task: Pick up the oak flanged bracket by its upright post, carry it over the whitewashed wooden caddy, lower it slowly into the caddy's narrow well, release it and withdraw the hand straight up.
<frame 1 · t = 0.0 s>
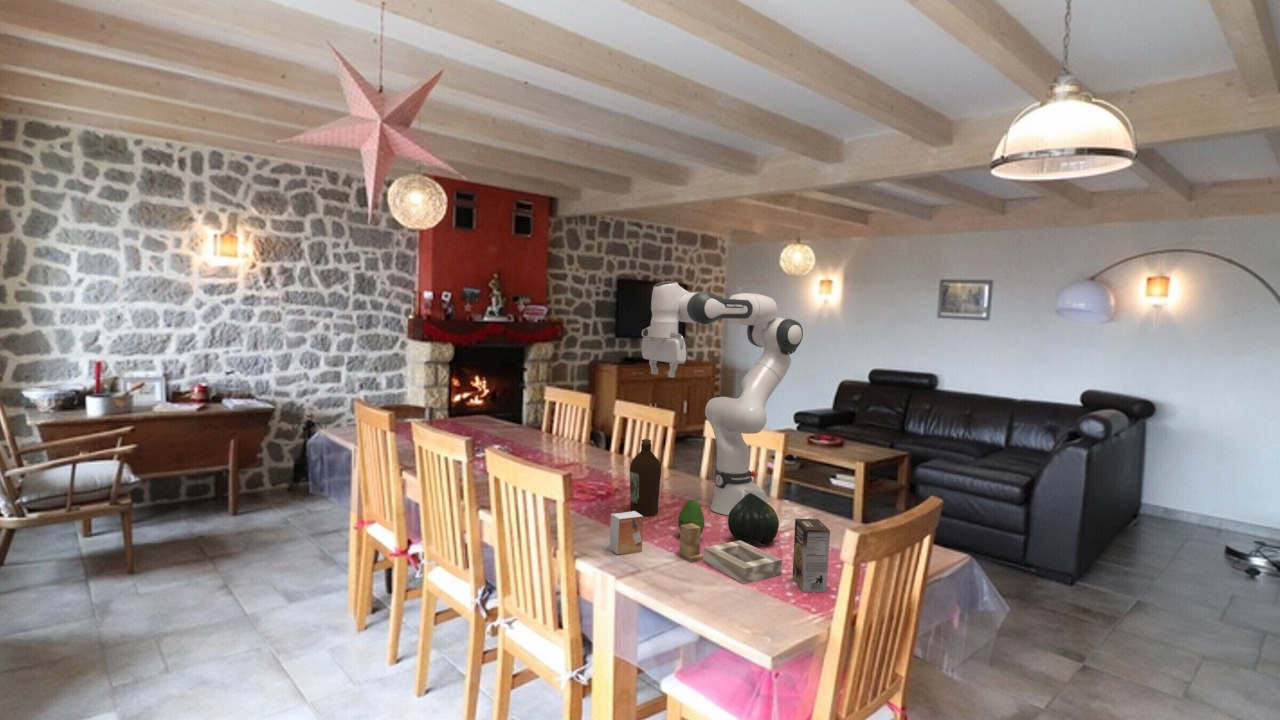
hand: (662, 375, 220), 48 cm above the table, fingers open, 8 cm apart
bracket: (689, 557, 194), on the table
coffee box: (808, 585, 177), on the table
small box: (625, 551, 198), on the table
olive oil: (643, 513, 234), on the table
caddy: (741, 567, 187), on the table
avocado: (690, 538, 210), on the table
squash: (751, 542, 209), on the table
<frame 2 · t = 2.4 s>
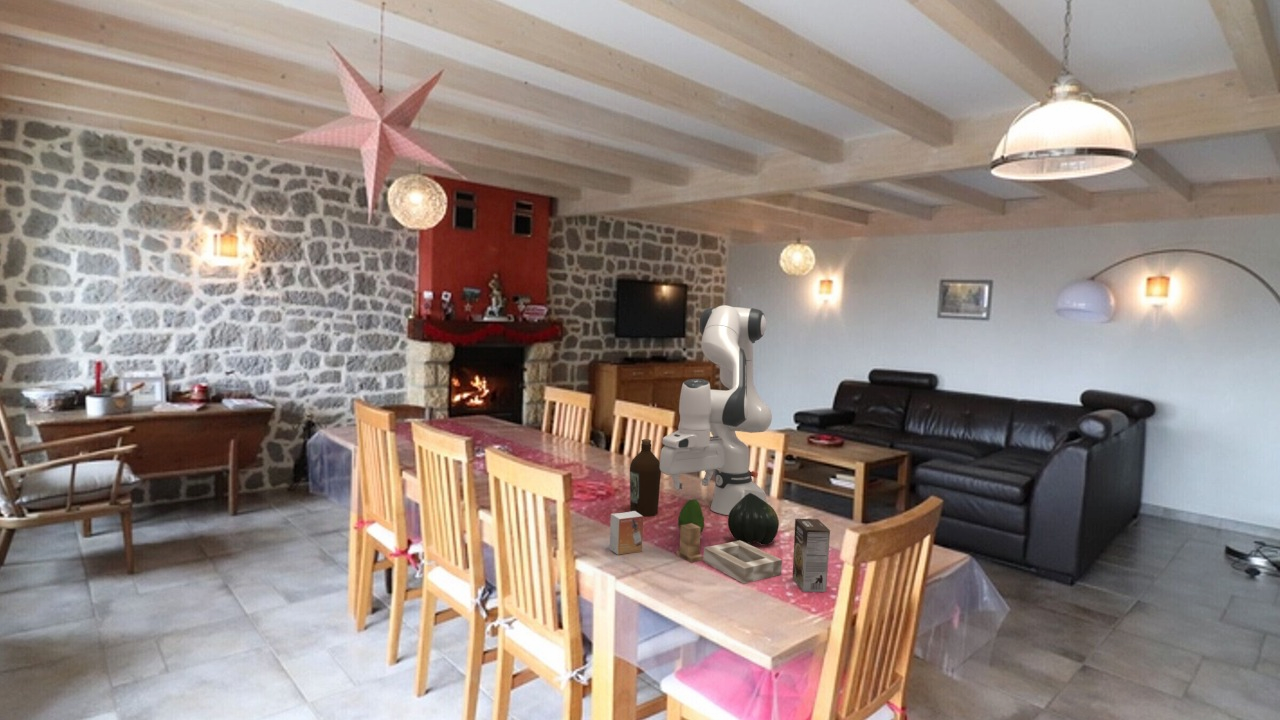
hand: (691, 487, 192), 20 cm above the table, fingers open, 8 cm apart
nothing on the table moved.
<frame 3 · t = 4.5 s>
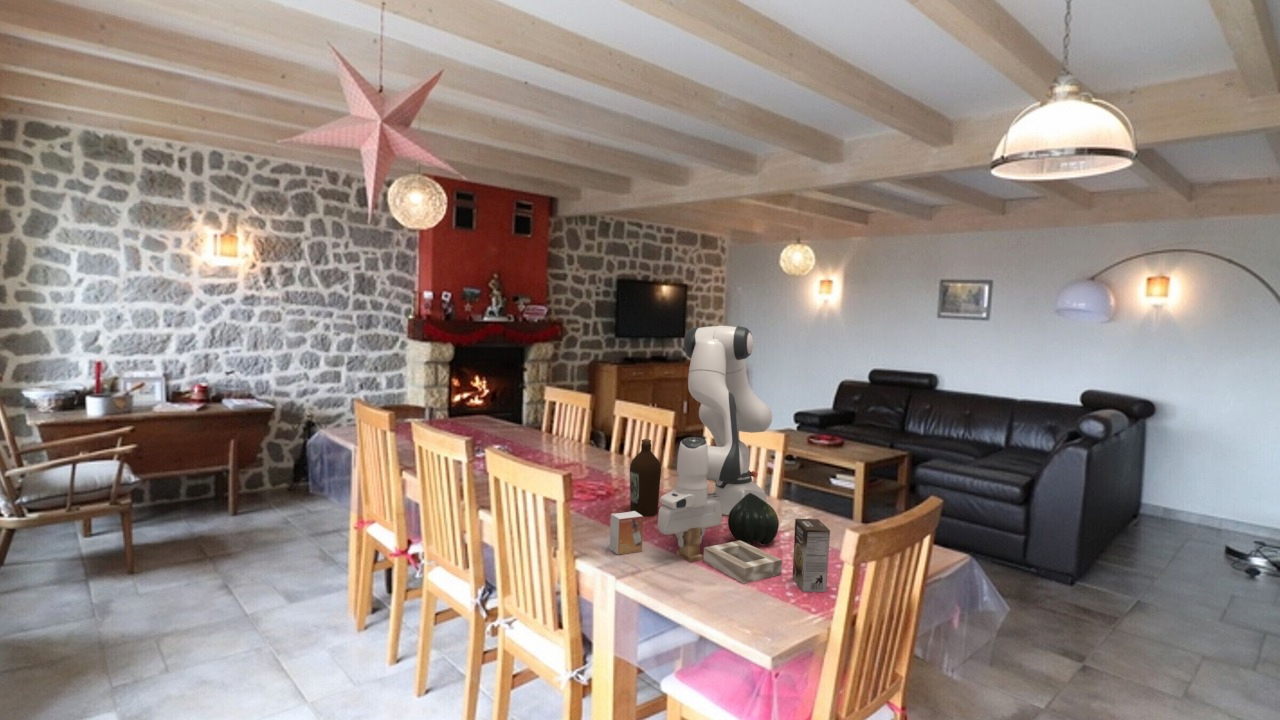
hand: (689, 544, 194), 4 cm above the table, fingers closed on bracket, 4 cm apart
bracket: (689, 557, 194), on the table, touching gripper
everything else where it was.
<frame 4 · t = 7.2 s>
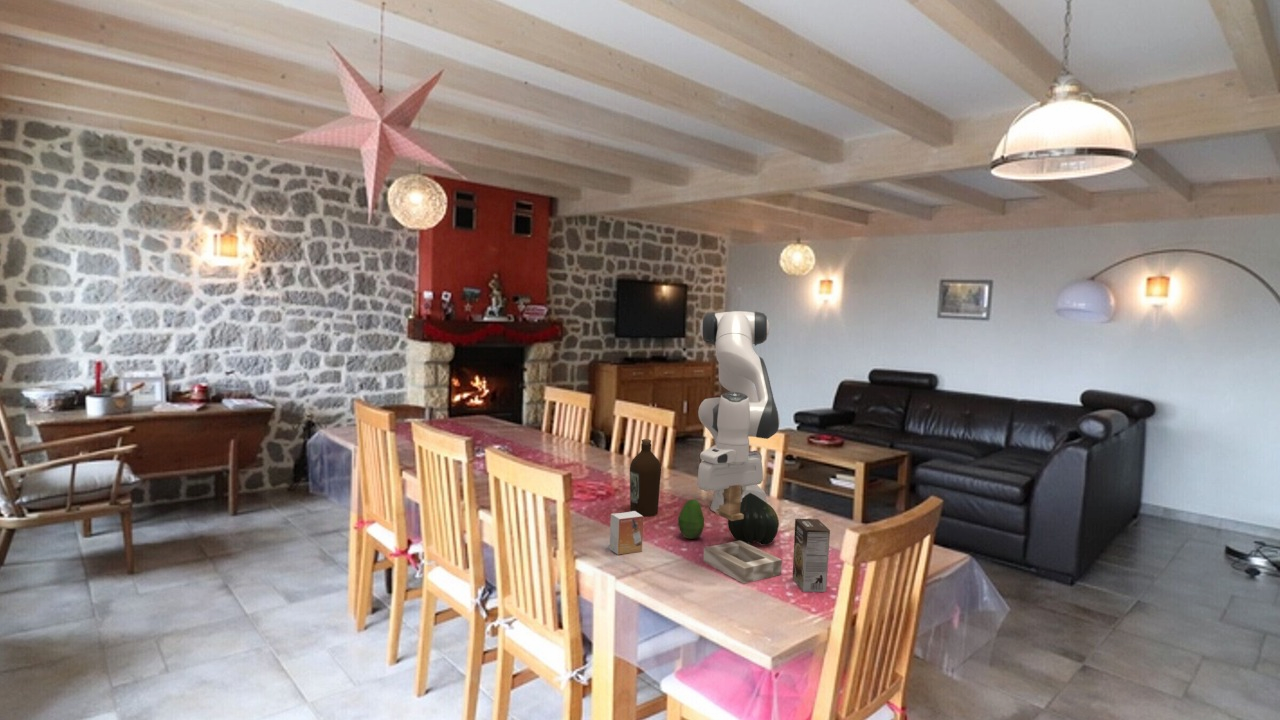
hand: (730, 503, 187), 17 cm above the table, fingers closed on bracket, 4 cm apart
bracket: (729, 516, 188), point 14 cm above the table, touching gripper
everything else where it was.
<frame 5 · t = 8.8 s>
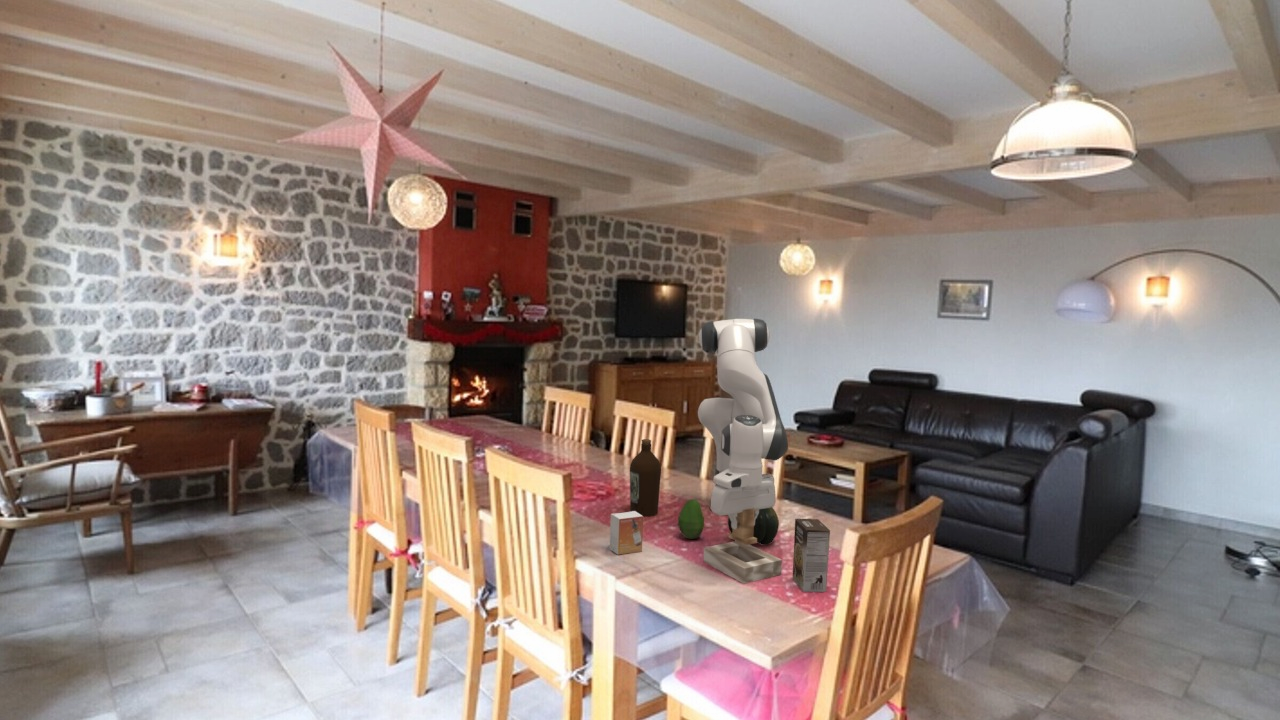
hand: (743, 526, 186), 11 cm above the table, fingers closed on bracket, 4 cm apart
bracket: (742, 540, 186), point 8 cm above the table, touching gripper
everything else where it was.
when the fingers open (5 cm above the table, at t = 10.2 s): bracket drops 1 cm, resting in caddy.
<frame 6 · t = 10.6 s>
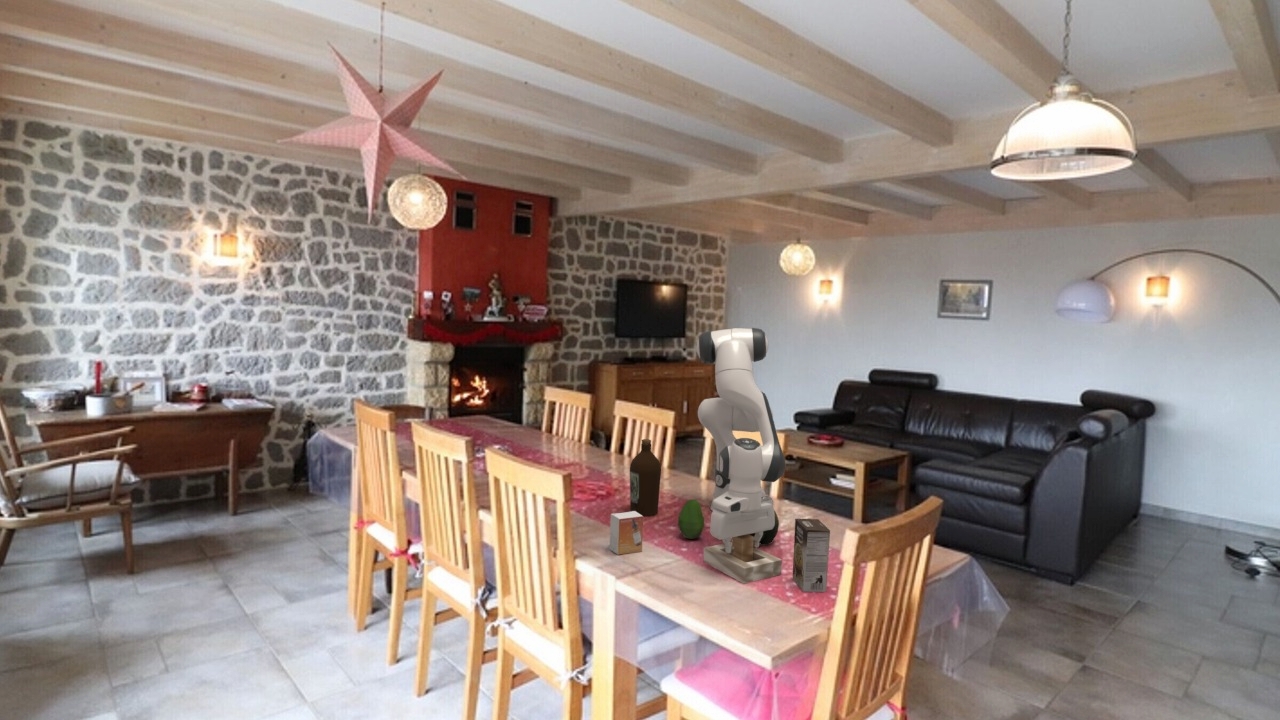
hand: (742, 549, 187), 5 cm above the table, fingers open, 8 cm apart
bracket: (741, 568, 187), resting in caddy
everything else where it was.
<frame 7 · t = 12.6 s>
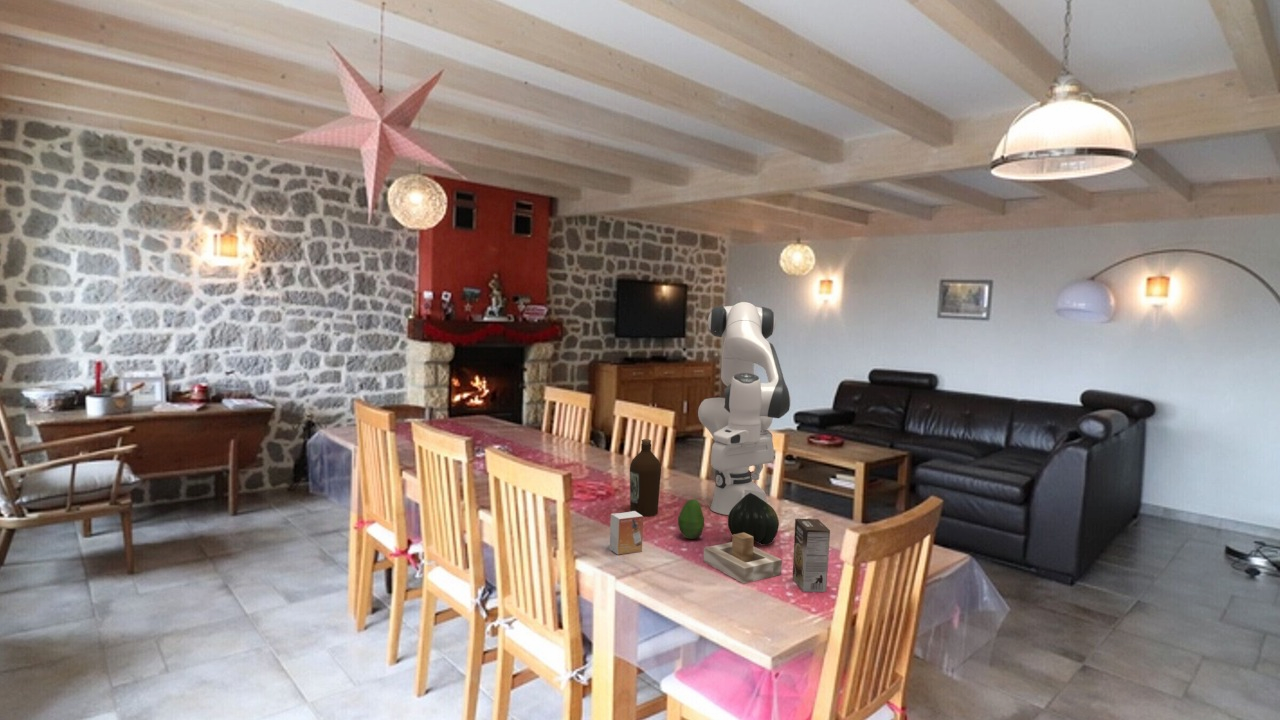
hand: (742, 481, 191), 22 cm above the table, fingers open, 8 cm apart
nothing on the table moved.
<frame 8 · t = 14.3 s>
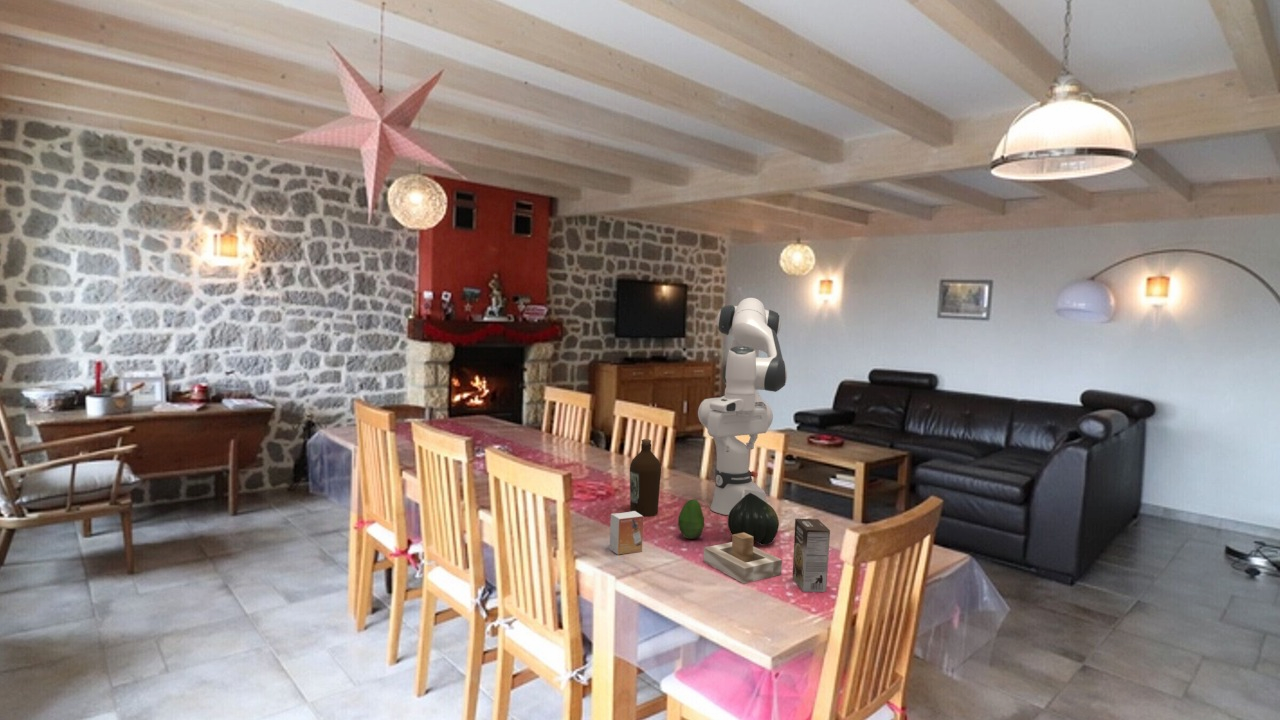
hand: (737, 450, 200), 29 cm above the table, fingers open, 8 cm apart
nothing on the table moved.
at the end: bracket 0.0 cm off-centre on the caddy, point 0.0 cm above the caddy's base; bracket tilted 0°; the gripper is holding nothing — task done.
